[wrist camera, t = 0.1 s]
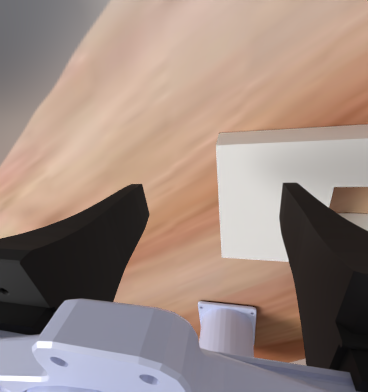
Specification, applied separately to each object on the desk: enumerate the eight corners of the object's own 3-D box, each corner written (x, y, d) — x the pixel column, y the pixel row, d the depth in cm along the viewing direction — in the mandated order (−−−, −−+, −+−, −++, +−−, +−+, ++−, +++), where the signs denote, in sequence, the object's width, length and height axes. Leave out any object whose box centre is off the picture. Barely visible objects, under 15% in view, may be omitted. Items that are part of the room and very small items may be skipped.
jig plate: (390, 244, 23) (408, 269, 20) (223, 237, 27) (221, 257, 24) (447, 119, 17) (483, 133, 14) (218, 133, 20) (215, 145, 18)
